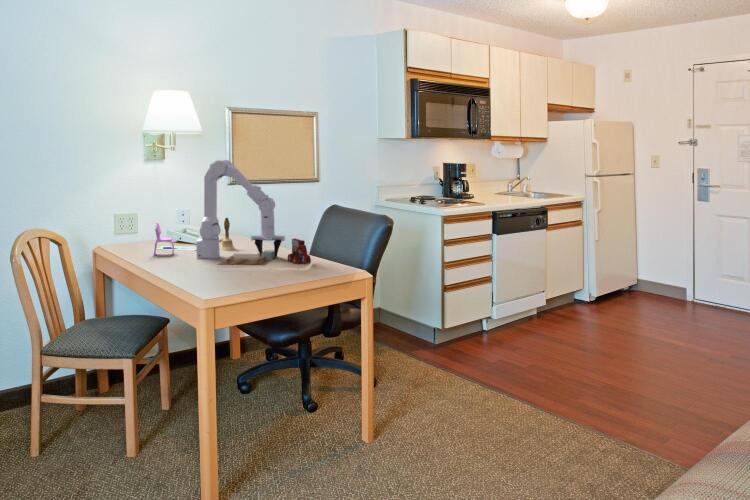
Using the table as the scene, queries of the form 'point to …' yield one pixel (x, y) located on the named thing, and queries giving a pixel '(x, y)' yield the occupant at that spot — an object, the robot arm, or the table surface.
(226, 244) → the hand bell
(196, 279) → the table surface
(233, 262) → the jig
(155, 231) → the toy chair
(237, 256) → the tall white pillar block
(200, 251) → the robot arm
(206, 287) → the table surface
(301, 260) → the toy fire truck
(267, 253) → the pale blue rectangular block
